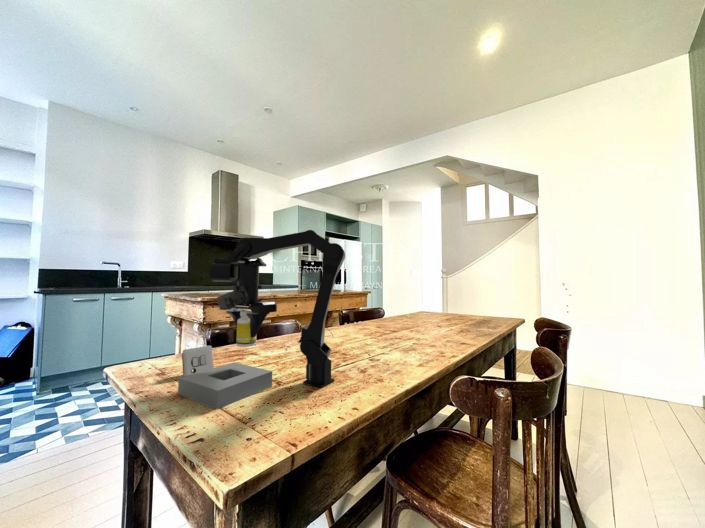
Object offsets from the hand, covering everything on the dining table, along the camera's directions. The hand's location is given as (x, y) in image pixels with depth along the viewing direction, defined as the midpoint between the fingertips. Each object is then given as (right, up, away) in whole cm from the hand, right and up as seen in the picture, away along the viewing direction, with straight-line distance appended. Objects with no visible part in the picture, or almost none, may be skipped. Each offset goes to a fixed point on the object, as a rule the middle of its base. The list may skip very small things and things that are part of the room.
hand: (246, 336), depth 80 cm
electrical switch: (-17, -13, +5) cm, 22 cm away
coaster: (+14, -12, -22) cm, 28 cm away
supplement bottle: (0, -3, 0) cm, 3 cm away
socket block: (-2, -12, -8) cm, 14 cm away
